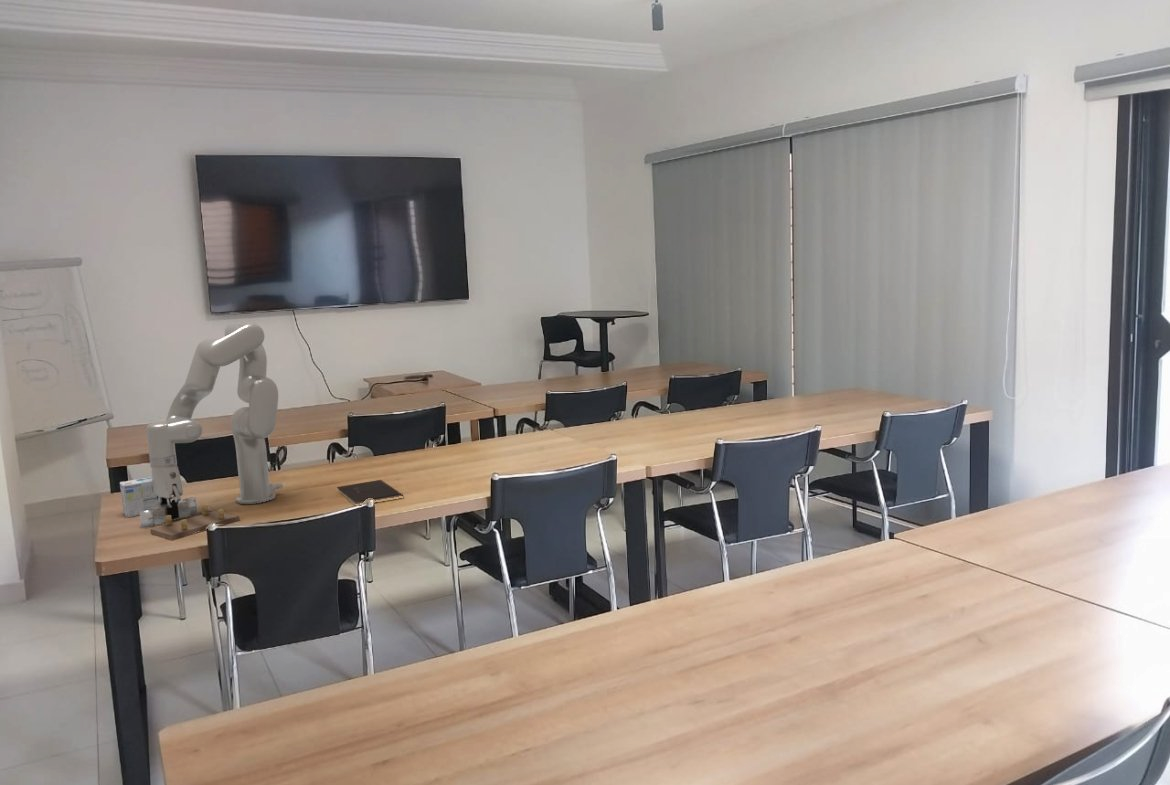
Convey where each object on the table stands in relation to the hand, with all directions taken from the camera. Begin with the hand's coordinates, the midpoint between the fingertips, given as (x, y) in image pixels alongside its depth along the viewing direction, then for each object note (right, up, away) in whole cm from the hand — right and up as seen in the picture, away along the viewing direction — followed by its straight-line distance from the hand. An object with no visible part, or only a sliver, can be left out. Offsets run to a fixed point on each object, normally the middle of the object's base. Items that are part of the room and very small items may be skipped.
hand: (170, 517), depth 279 cm
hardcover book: (+58, +4, +20) cm, 62 cm away
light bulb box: (-14, 0, +10) cm, 17 cm away
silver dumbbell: (0, -1, 0) cm, 1 cm away
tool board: (+12, -2, -9) cm, 15 cm away
